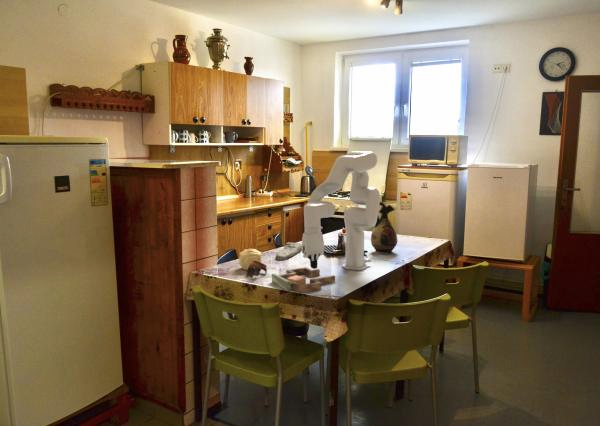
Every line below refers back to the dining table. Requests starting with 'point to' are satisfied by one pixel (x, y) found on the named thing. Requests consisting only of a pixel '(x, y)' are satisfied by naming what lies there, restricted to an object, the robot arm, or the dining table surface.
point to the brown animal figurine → (256, 268)
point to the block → (297, 279)
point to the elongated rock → (289, 251)
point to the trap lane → (303, 272)
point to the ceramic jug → (384, 232)
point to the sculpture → (249, 257)
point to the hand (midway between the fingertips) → (314, 267)
